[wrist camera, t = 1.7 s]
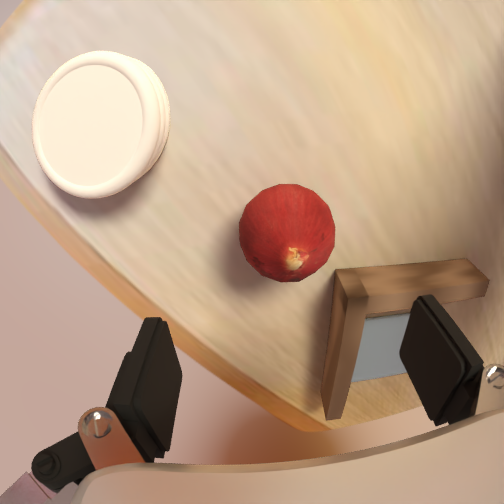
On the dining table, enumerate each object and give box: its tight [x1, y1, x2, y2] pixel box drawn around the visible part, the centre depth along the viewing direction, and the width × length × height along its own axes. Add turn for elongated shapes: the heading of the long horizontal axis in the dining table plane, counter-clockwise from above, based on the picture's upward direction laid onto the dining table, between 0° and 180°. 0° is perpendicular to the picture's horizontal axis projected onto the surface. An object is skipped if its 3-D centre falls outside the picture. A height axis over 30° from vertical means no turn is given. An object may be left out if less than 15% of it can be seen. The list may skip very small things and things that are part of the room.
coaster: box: [32, 51, 170, 199], centre depth 17 cm, size 10×10×4 cm
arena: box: [321, 259, 490, 420], centre depth 26 cm, size 14×16×4 cm
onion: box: [239, 184, 335, 282], centre depth 18 cm, size 6×6×8 cm
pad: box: [351, 313, 410, 382], centre depth 28 cm, size 9×9×1 cm
